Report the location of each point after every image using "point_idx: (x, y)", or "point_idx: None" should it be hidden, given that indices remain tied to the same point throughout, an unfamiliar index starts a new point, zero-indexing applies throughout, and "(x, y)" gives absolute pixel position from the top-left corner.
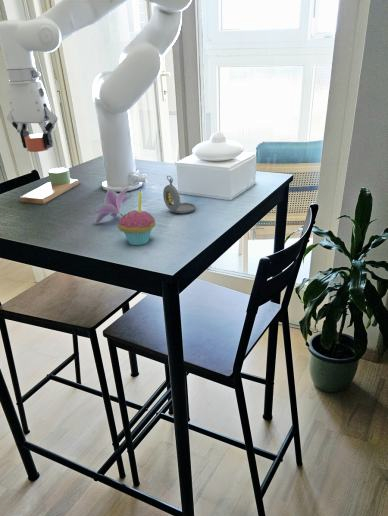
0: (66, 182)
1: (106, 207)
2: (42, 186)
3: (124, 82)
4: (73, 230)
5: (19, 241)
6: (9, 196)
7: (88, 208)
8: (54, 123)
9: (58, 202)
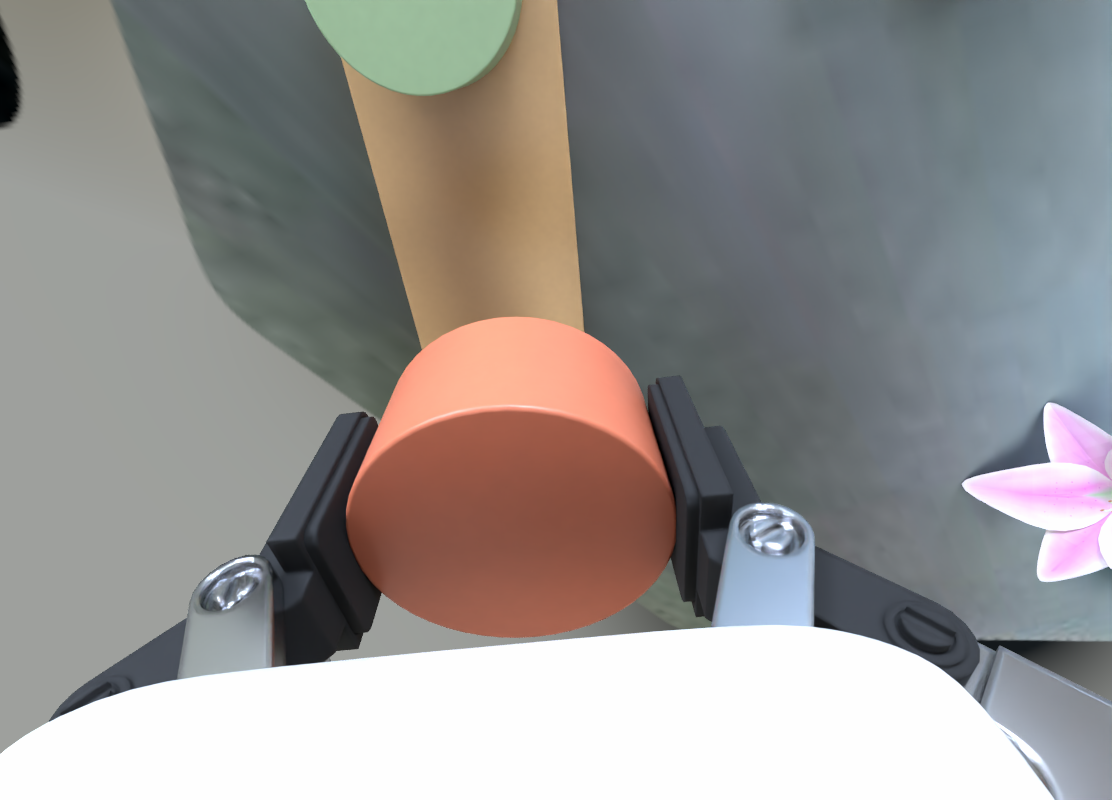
0: (519, 14)
1: (1097, 546)
2: (388, 170)
3: None
4: (885, 541)
5: None
6: (280, 326)
7: (869, 345)
8: (1010, 680)
9: (651, 320)
